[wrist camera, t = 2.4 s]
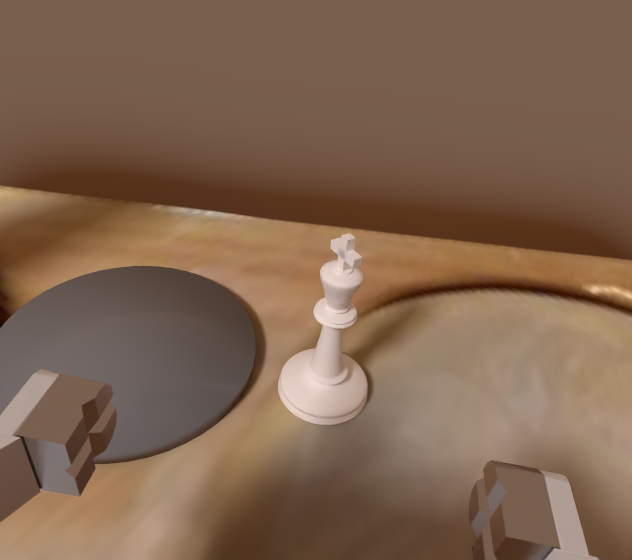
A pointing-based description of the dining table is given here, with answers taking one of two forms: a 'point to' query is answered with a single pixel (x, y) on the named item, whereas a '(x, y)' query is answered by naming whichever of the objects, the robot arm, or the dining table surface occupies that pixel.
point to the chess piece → (329, 349)
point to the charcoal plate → (138, 351)
